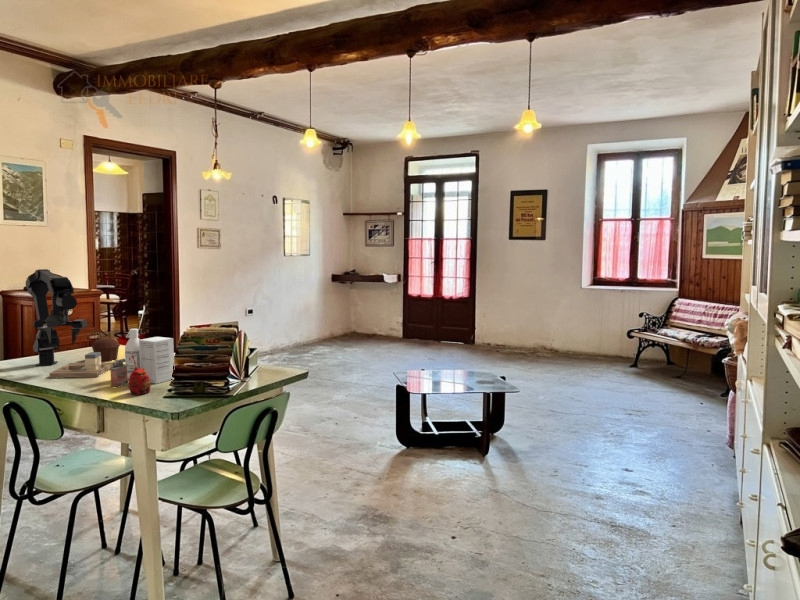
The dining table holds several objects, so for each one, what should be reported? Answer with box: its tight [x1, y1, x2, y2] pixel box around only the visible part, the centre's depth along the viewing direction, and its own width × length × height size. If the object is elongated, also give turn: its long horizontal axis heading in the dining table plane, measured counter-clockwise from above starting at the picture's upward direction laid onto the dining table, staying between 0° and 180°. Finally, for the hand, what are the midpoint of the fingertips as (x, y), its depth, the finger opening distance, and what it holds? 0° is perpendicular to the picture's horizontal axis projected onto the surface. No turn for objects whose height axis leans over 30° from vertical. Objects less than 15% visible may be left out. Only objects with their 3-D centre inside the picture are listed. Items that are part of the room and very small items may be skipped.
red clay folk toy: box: [128, 353, 152, 396], centre depth 199 cm, size 8×7×15 cm
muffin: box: [91, 337, 121, 362], centre depth 254 cm, size 12×11×10 cm
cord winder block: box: [84, 351, 102, 370], centre depth 230 cm, size 6×4×8 cm, turn 9°
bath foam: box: [124, 328, 141, 380], centre depth 221 cm, size 7×7×20 cm
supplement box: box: [139, 336, 175, 384], centre depth 218 cm, size 10×9×17 cm
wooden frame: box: [48, 361, 114, 379], centre depth 229 cm, size 19×18×2 cm
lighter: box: [109, 358, 129, 388], centre depth 210 cm, size 8×3×10 cm, turn 168°
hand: (61, 343), depth 231 cm, fingers open, 9 cm apart
